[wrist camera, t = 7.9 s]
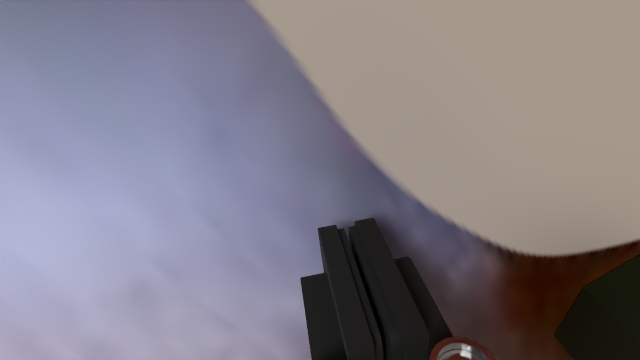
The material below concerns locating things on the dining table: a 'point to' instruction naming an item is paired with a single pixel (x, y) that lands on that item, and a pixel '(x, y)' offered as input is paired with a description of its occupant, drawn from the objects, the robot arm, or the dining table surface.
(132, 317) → the dining table surface
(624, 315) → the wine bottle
